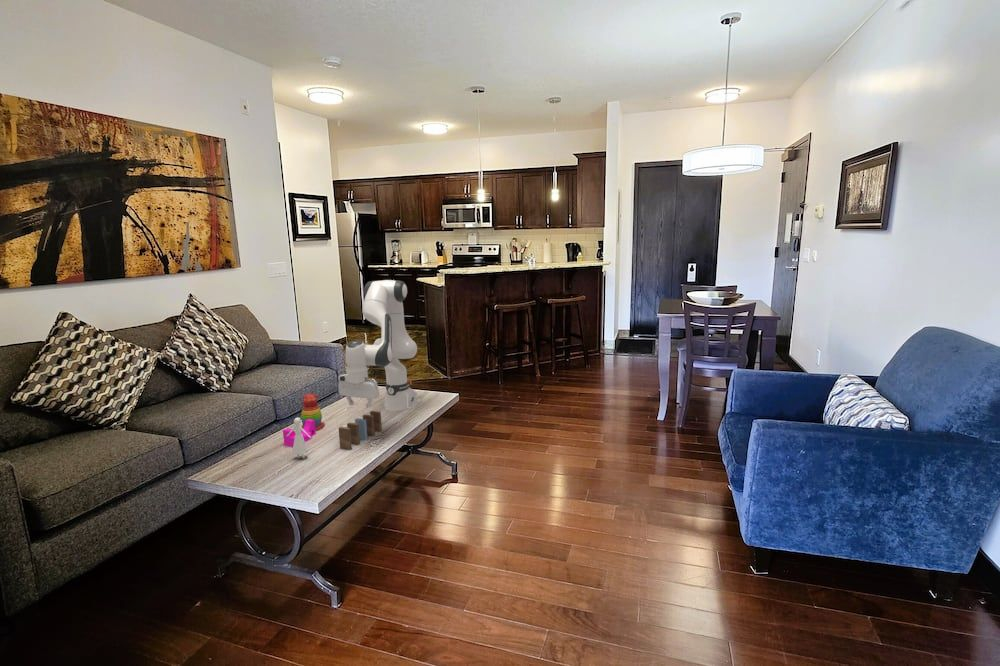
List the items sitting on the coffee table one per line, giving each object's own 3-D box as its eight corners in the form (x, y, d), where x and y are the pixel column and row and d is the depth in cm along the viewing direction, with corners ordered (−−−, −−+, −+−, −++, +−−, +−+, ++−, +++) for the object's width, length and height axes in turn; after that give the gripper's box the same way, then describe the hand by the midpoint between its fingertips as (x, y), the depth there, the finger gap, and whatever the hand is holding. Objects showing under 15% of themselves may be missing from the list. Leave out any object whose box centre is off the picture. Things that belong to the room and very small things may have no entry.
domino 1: (342, 447, 211) (341, 426, 209) (351, 449, 209) (350, 428, 207) (340, 449, 209) (338, 427, 208) (349, 451, 207) (347, 429, 206)
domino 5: (373, 430, 231) (372, 410, 229) (381, 431, 229) (380, 411, 227) (371, 431, 229) (370, 411, 228) (379, 432, 227) (378, 413, 226)
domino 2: (350, 443, 216) (349, 422, 214) (359, 444, 214) (358, 423, 212) (348, 444, 214) (346, 423, 213) (357, 446, 212) (356, 424, 211)
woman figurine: (316, 456, 202) (313, 416, 199) (310, 461, 198) (306, 420, 195) (292, 455, 204) (288, 415, 201) (285, 459, 200) (281, 418, 197)
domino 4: (366, 434, 226) (364, 414, 224) (374, 435, 224) (373, 415, 222) (364, 435, 224) (362, 415, 223) (372, 437, 222) (371, 416, 221)
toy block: (294, 448, 212) (292, 432, 211) (284, 445, 215) (282, 430, 213) (319, 436, 225) (318, 421, 224) (310, 434, 228) (308, 419, 227)
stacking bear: (325, 424, 240) (322, 390, 237) (323, 431, 230) (320, 396, 227) (302, 426, 237) (299, 392, 234) (299, 434, 228) (296, 398, 225)
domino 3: (358, 438, 221) (357, 418, 219) (367, 440, 219) (366, 419, 217) (356, 440, 219) (354, 419, 218) (365, 441, 217) (363, 420, 216)
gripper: (381, 377, 213) (383, 406, 215) (344, 373, 220) (346, 401, 223) (372, 380, 207) (374, 411, 210) (335, 376, 215) (337, 405, 217)
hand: (360, 406), depth 217 cm, fingers open, 8 cm apart
